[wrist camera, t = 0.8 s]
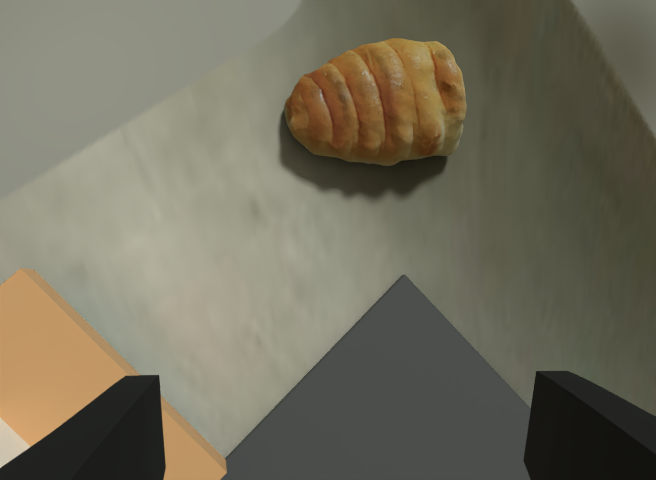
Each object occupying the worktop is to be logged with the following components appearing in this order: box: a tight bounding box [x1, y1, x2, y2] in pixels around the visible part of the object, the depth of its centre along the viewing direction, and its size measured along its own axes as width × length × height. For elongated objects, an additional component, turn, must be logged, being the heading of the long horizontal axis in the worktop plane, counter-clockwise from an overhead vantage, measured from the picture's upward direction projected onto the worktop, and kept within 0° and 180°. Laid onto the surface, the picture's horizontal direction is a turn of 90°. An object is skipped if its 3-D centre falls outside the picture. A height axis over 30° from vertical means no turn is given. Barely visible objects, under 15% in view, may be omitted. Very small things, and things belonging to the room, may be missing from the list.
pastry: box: [284, 38, 467, 166], centre depth 30 cm, size 9×7×4 cm
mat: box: [220, 275, 531, 480], centre depth 30 cm, size 15×15×1 cm
